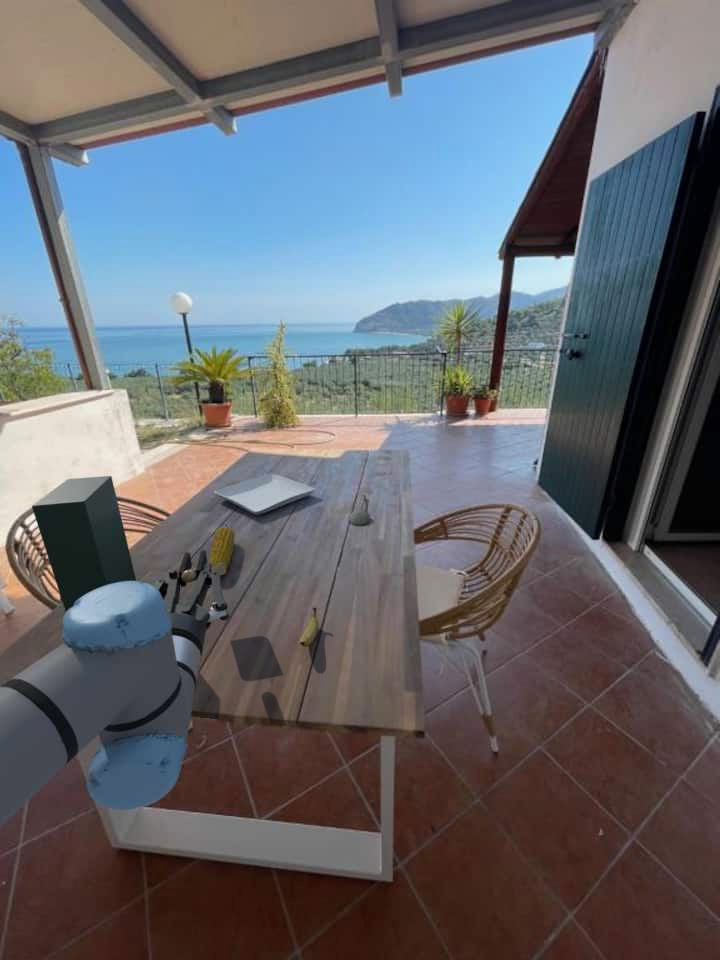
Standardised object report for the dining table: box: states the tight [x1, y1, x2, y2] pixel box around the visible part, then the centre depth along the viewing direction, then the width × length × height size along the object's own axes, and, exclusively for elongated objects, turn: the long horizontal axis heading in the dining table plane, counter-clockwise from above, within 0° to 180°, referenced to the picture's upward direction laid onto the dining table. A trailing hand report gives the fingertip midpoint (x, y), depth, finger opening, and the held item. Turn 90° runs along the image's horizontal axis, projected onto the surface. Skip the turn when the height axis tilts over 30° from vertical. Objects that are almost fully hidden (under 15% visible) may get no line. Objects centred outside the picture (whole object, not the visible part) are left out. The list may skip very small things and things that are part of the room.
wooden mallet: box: [181, 562, 227, 584], centre depth 72 cm, size 6×24×2 cm, turn 14°
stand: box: [31, 475, 137, 613], centre depth 79 cm, size 8×14×30 cm, turn 14°
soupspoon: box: [349, 494, 371, 526], centre depth 135 cm, size 22×3×7 cm
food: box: [208, 526, 235, 577], centre depth 105 cm, size 21×6×6 cm, turn 14°
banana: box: [298, 607, 319, 647], centre depth 77 cm, size 10×2×4 cm, turn 172°
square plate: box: [213, 473, 316, 516], centre depth 146 cm, size 27×27×4 cm
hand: (196, 558), depth 69 cm, fingers closed on wooden mallet, 2 cm apart
